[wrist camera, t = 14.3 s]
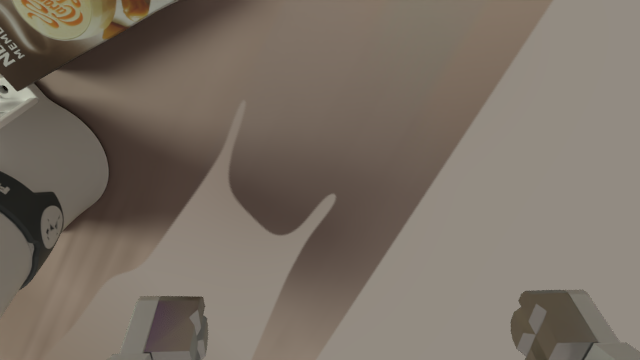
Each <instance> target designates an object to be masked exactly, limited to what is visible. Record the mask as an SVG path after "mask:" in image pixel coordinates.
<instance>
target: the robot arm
mask: <svg viewBox="0 0 640 360" xmlns="http://www.w3.org/2000/svg"><path fill="white" fill-rule="evenodd" d="M2 85H4V86H6V87H7V88H8V91H6V90H5V89H4V88H3V87H2ZM108 176H109V168H108V162H107V158H106V155H105V152H104V150H103V148H102V146H101V144H100V142H99V141H98V139H97V137H96V136H95V135H94V133H93V132H92V131H91V130H90V129H89V128H88V127H87V126H86V125H85V124H84V123H83V122H82V121H81V120H80V119H79V118H77V117H76V116H75V115H73V114H72V113H70V112H69V111H67V110H66V109H64V108H62V107H60V106H59V105H57V104H55V103H54V102H52V101H51V100H49V99H48V98H47V97H46V96H45V95H44V94H43V93H42V92H41V91H40V89H39V88H38V87H37V86H36V85H35V84H34V83H33V84H31V85H29V86H27V87H26V88H24V89H22V90H20V91H18V92H17V91H16V90H15V89H14V88H13V87H12V86H11V85H10V84H9V82H8V81H7V80H6V79H5V78H4V77H3V76H2V75H1V74H0V318H1V317H2V315H3V314H4V312H5V310H6V309H7V307H8V306H9V304H10V303H11V301H12V300H13V298H14V297H15V295H16V294H17V292H18V291H19V290H20V289H22V288H24V287H25V286H26V285H27V284H28V283H29V282H30V281H31V280H32V279H33V277H34V276H35V275H36V273H37V272H38V270H39V269H40V268H41V266H42V265H43V263H44V262H45V260H46V259H47V257H48V256H49V254H50V253H51V251H52V249H53V248H54V246H55V244H56V242H57V240H58V238H59V236H60V234H61V232H62V231H63V230H64V229H65V228H66V227H67V226H68V225H69V224H70V223H71V222H72V221H73V220H74V219H75V218H76V217H78V216H79V215H80V214H81V213H82V212H84V211H85V210H86V209H88V208H89V207H90V206H92V205H93V204H94V203H95V202H97V200H98V199H99V198H100V197H101V196H102V194H103V192H104V191H105V188H106V186H107V182H108ZM519 303H520V305H521V307H520V308H519V309H518V310H517V311H515V312H514V313H513V316H512V319H511V334H512V339H513V341H514V344H515V346H516V349H518V350H519V351H520V352H521V353H523V354H524V355H525V356H526V358H525V360H640V352H639V351H638V350H636V349H635V348H633V347H632V346H631V345H629V344H628V343H620V341H619V340H618V338H617V337H616V335H615V334H614V332H613V331H612V329H611V328H610V326H609V325H608V323H607V322H606V320H605V319H604V317H603V316H602V314H601V313H600V311H599V310H598V308H597V307H596V305H595V304H594V302H593V301H592V299H591V298H590V296H589V294H588V293H587V292H585V291H584V290H542V291H525V292H523V293H522V294H521V296H520V299H519ZM204 308H205V304H204V299H203V297H188V296H184V297H183V296H160V297H159V296H155V297H154V296H141V297H140V298H139V299H138V301H137V302H136V305H135V309H134V311H133V314H132V317H131V320H130V323H129V326H128V329H127V332H126V335H125V338H124V341H123V344H122V347H121V350H120V353H119V354H112V355H111V356H110V357H109V358H108V359H107V360H202V359H203V358H204V357H205V356H206V350H207V340H208V323H207V318H206V317H205V316H204V315H203V314H204Z"/></svg>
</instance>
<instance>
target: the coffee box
mask: <svg viewBox="0 0 640 360" xmlns="http://www.w3.org/2000/svg"><path fill="white" fill-rule="evenodd" d="M177 1H179V0H0V74H1V75H2V76H3V77H4V78H5V79H6V80H7V81H8V82H9V84H10V85H11V86H12V87H13V88H14V89H15V90H16V91H17V92H18V91H20V90H22V89H24V88H26V87H27V86H29V85H31V84H33V83H34V82H36V81H38V80H39V79H41V78H43V77H45V76H46V75H48V74H50V73H51V72H53V71H55V70H57V69H58V68H60V67H62V66H63V65H65V64H67V63H69V62H70V61H72V60H74V59H76V58H77V57H79V56H81V55H82V54H84V53H86V52H88V51H89V50H91V49H93V48H95V47H96V46H98V45H100V44H102V43H104V42H105V41H107V40H109V39H111V38H112V37H114V36H116V35H118V34H119V33H121V32H123V31H125V30H126V29H128V28H130V27H131V26H133V25H135V24H136V23H138V22H140V21H142V20H143V19H145V18H147V17H149V16H151V15H152V14H154V13H155V12H157V11H159V10H161V9H163V8H165V7H167V6H169V5H171V4H173V3H175V2H177Z"/></svg>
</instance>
